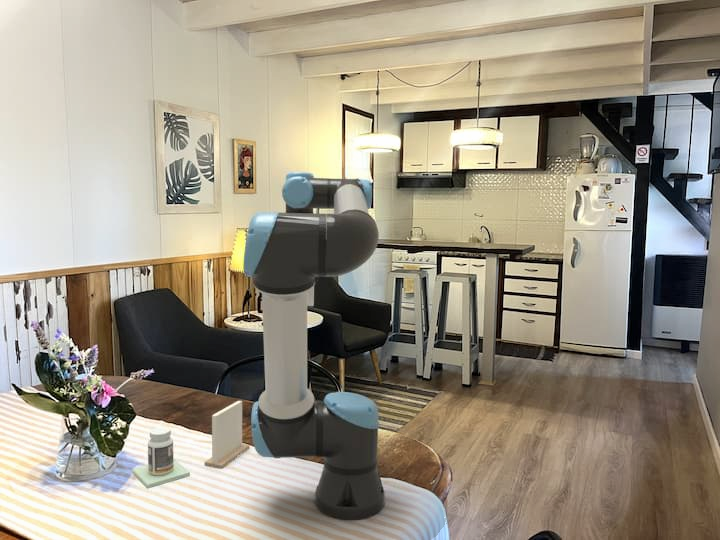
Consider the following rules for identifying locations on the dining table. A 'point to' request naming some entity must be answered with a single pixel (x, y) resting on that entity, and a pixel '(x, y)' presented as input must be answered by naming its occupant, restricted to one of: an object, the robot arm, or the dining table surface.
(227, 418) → the screen
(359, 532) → the dining table surface
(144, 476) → the coaster
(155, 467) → the pill bottle
